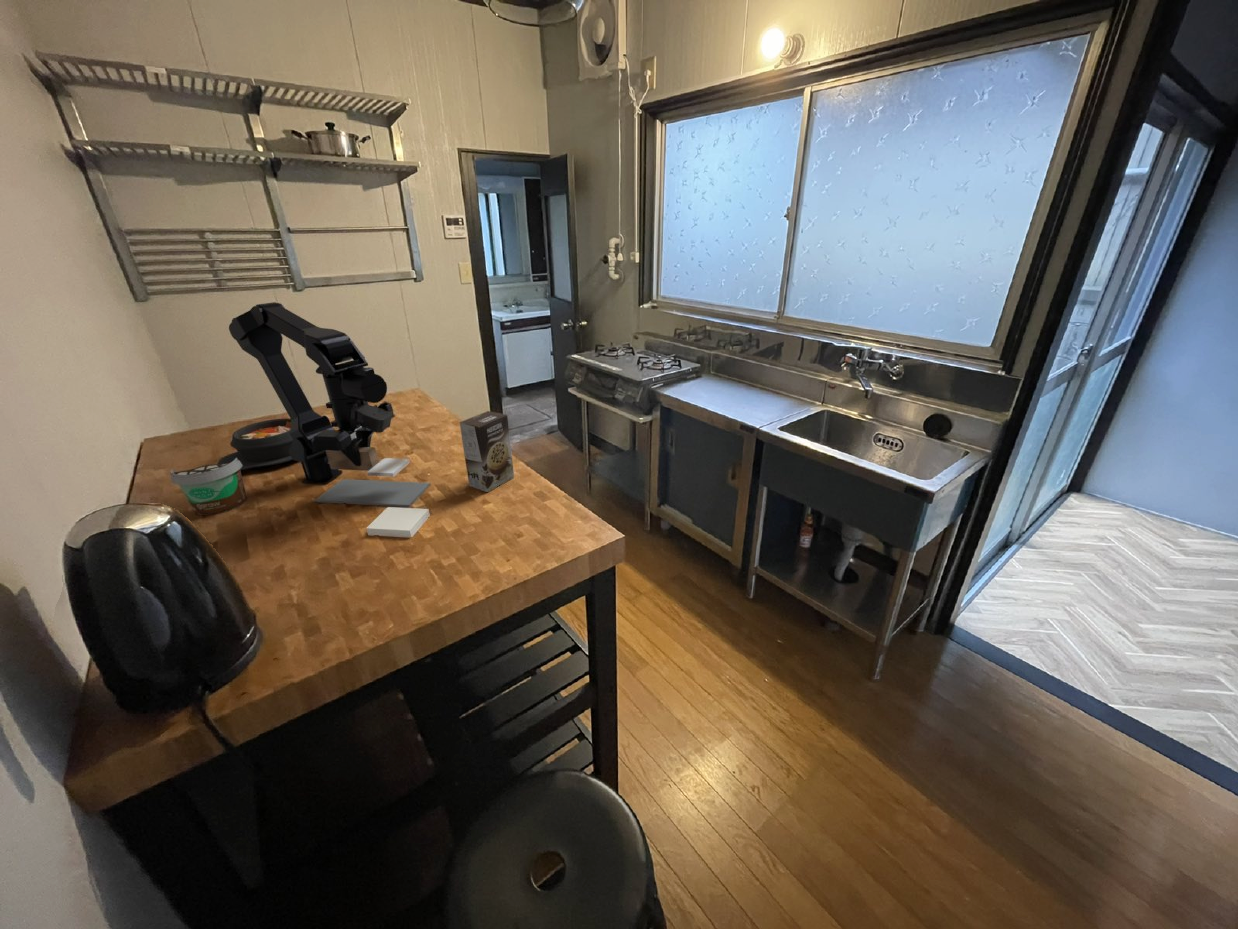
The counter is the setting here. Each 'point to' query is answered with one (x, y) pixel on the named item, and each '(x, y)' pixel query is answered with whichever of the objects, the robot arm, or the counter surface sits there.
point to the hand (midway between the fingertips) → (362, 462)
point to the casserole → (261, 444)
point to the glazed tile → (398, 522)
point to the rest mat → (374, 492)
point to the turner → (367, 462)
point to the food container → (212, 487)
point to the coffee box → (487, 450)
